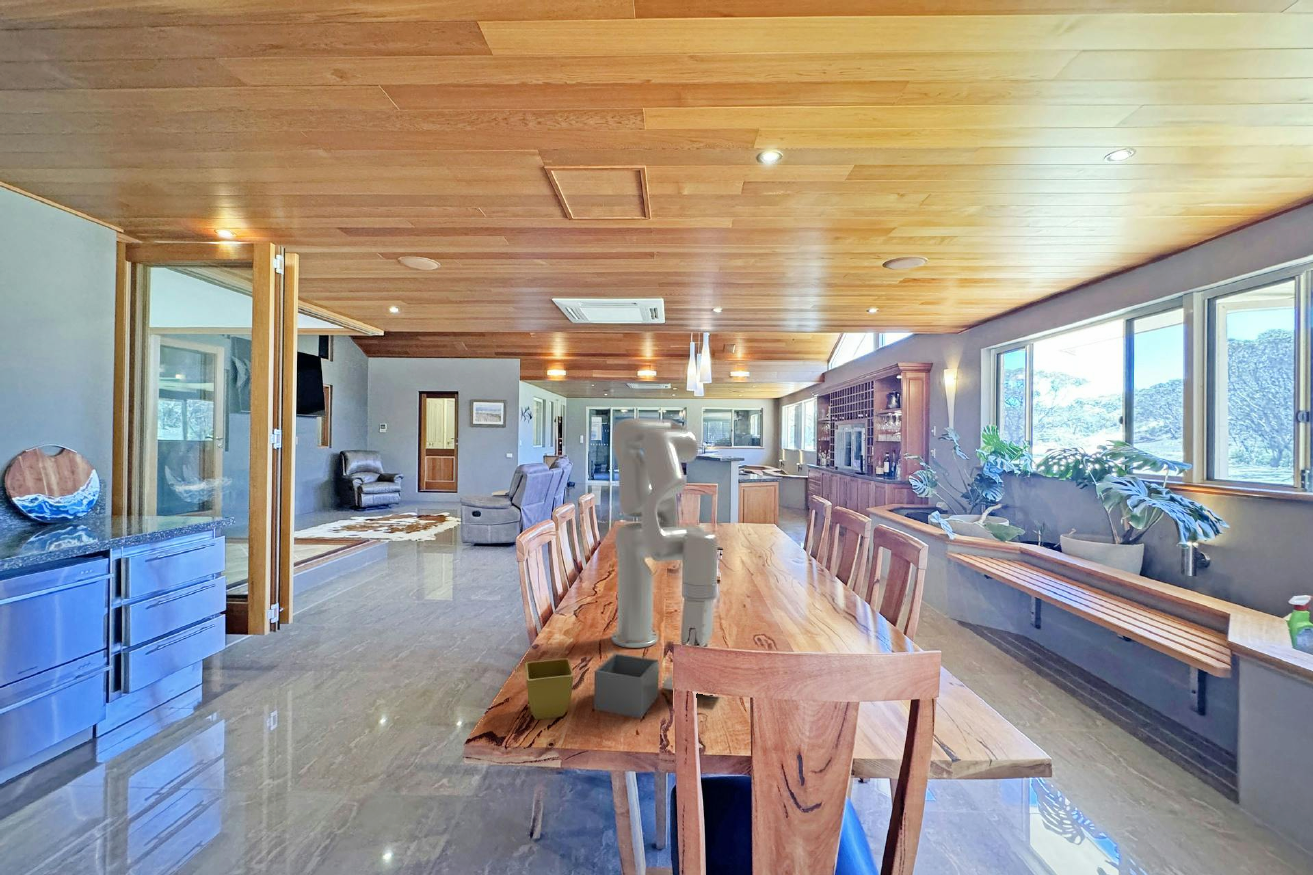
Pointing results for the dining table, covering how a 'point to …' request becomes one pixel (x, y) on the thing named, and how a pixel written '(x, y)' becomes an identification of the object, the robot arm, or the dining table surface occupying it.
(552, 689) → the flower pot
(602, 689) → the open box
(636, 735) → the dining table surface
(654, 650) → the dining table surface
